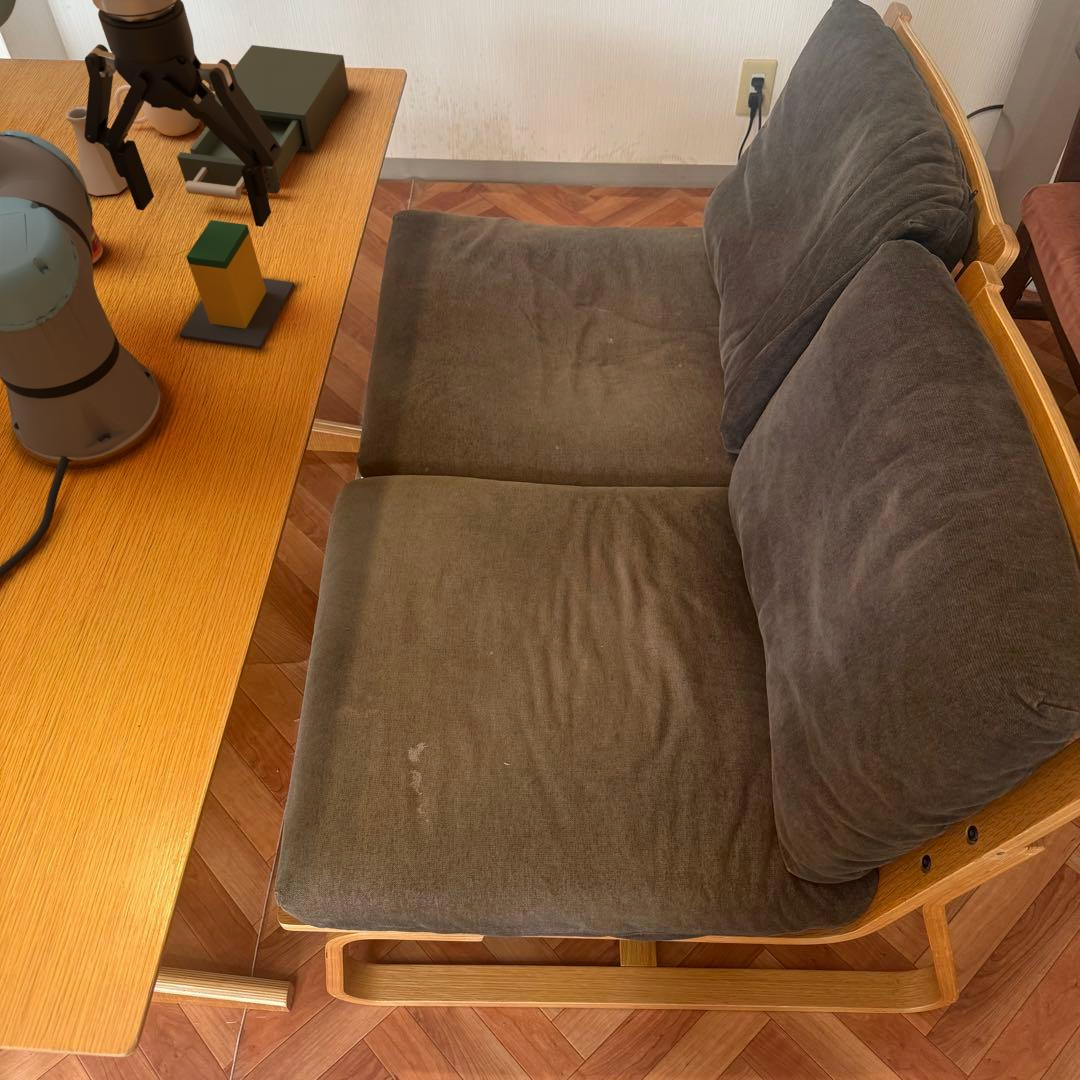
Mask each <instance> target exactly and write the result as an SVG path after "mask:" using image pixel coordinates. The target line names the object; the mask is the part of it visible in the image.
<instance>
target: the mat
mask: <svg viewBox="0 0 1080 1080" xmlns="http://www.w3.org/2000/svg"><path fill="white" fill-rule="evenodd" d="M262 278H263V281H264V285H265V288H266V294H265V295H264V297H263V299H262V301H261V302H260V304H259V306H258V308H257V310H256V311H255V313H254V315H253V317H252V318H251V320H250V322H249V324H248V325H247V327H246V329H244V328H237V327H230V326H223V325H216V324H210V322H209V319H208V316H207V313H206V310H205V308H204V305H203V302H202V299H201V298H200V301H199V303H198V304H197V305H196V307H195V308H194V311H193V312H192V314H191V315H190V317H189V318H188V320H187V322H186V323H185V325H184V326H183V328H182V330H181V331H180V333H179V338H180V339H186V340H193V341H201V342H206V343H214V344H220V345H226V346H228V345H229V346H234V347H241V348H247V349H255V350H261V349H262V347H263V345H264V343H265V341H266V339H268V338H267V337H268V336H269V334H270V332H271V330H272V328H273V327H274V325H275V323H276V321H277V319H278V318H279V315H280V314H281V312H282V310H283V308H284V306H285V304H286V302H287V301H288V299H289V297H290V295H291V293H292V292H293V290H294V288H295V285H296V284H295V282H293V281H286V280H280V279H279V280H278V279H272V278H264V277H262Z"/></svg>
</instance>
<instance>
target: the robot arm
mask: <svg viewBox="0 0 1080 1080" xmlns="http://www.w3.org/2000/svg"><path fill="white" fill-rule="evenodd" d="M16 3H17V0H0V28H1V27H2V26H4V24H5V23H6V22H7V21H8V20H9V18H10V17H11V15H13V14H12V13H13V11H14V9H15V6H16ZM92 3H93V5H94V6H95V7H96V8H97V9H98V13H97V15H98V16H97V17H98V19H99V22H100V25H101V28H102V31H103V33H104V37H105V40H106V42H107V45H108V48H109V49H108V48H107V47H106V46H105V45H104V44H101V43H99V44H97V45H96V46H95V47H94V48H93V49H92V50H91V51H89V53H88V54H87V55H85V57H84V64H85V67H86V71H87V74H88V78H89V80H88V81H89V82H88V93H87V103H86V108H87V112H86V123H85V134H84V136H85V139H86V140H87V141H88V142H89V143H92V144H94V143H96V142H97V143H99V144H102V145H104V147H105V148H106V149H107V150H108V151H109V153H110V155H111V158H112V160H113V163H114V166H115V168H116V171H117V173H118V174H119V176H120V177H124V178H125V179H126V182H127V184H128V186H127V188H128V190H129V192H130V195H131V198H132V199H133V203H134V205H135V208H136V210H137V211H144V210H145V209H146V208H147V206H148V205H149V204H150V203H151V201H152V200H153V199H154V198H155V195H154V193H153V189H152V185H151V184H150V180H149V178H148V176H147V172H146V170H145V166H144V164H143V160H142V159H141V156H140V153H139V150H138V147H137V145H136V142H135V140H130V139H127V140H126V138H127V136H128V135H129V134H128V133H129V131H130V130H131V129H132V126H133V124H134V123H133V122H134V120H135V119H137V117H138V114H139V113H140V111H141V110H142V109H141V107H142V105H143V103H144V102H145V101H146V102H147V103H149V104H151V107H154V108H163V107H167V108H170V109H173V110H177V111H182V110H183V108H184V109H185V110H186V111H187V112H188V113H189V114H190V115H191V116H192V117H193V118H195V119H199V120H200V122H201V123H203V125H204V126H205V127H208V128H209V129H210V130H211V131H212V132H213V133H214V134H215V135H216V136H217V137H218V138H219V139H220V140H221V141H222V142H223V143H224V144H225V145H226V146H227V147H228V148H229V149H230V150H231V151H232V152H233V153H234V154H235V155H236V156H237V157H238V158H239V159H240V160H241V161H242V162H243V163H244V164H245V166H244V167H243V168H242V170H241V172H242V176H243V180H244V183H245V187H246V190H245V191H246V194H247V198H248V203H249V206H250V210H251V213H252V217H253V218H252V219H253V222H254V224H255V226H256V227H261V228H263V226H264V225H265V223H266V222H267V220H268V218H269V216H270V215H271V214H272V210H271V205H270V202H269V198H268V194H270V193H269V191H270V190H271V186H272V184H271V180H270V177H269V172H268V167H272V166H273V165H274V163H275V162H276V160H277V159H278V157H279V155H280V154H281V152H282V149H281V147H280V145H279V144H278V142H277V141H276V139H275V138H274V136H273V135H272V133H271V132H270V130H269V129H268V128H267V126H266V125H265V123H264V122H263V120H262V119H261V117H260V116H259V114H258V113H257V111H256V110H255V108H254V107H253V105H252V104H251V103H250V101H249V100H248V98H247V97H246V95H245V94H244V92H243V91H242V89H241V88H240V86H239V85H238V83H237V81H236V78H235V75H234V72H233V69H234V68H233V66H232V64H231V63H230V61H229V60H227V59H225V58H221V59H220V60H219V61H218V62H217V63H216V64H215V63H214V64H209V63H208V64H202V63H201V61H200V60H199V58H198V57H197V54H196V52H195V45H194V37H193V33H192V30H191V26H190V22H189V19H188V15H187V11H186V9H185V4H184V2H183V0H92ZM109 50H110V51H109ZM116 72H117V74H118V75H119V76H120V77H121V78H122V79H123V80H124V81H125V82H126V83H127V85H130V86H131V87H130V89H129V91H128V90H127V94H126V95H125V97H124V99H123V101H122V102H123V103H122V104H121V109H120V111H118V113H117V115H116V117H115V119H114V120H113V123H112V125H111V126H110V127H108V124H109V115H110V107H111V97H112V91H113V82H114V81H113V80H114V74H115V73H116ZM203 81H204V82H206V83H207V85H208V86H207V85H206V84H205V83H204V82H203ZM214 93H216V95H217V97H218V99H219V101H220V102H221V104H222V105H223V107H224V108H225V109H224V108H223V107H222V106H221V105H220V104H219V103H218V102H217V101H216V99H215V95H214ZM196 94H197V95H198V96H199V97H200V102H199V103H198V104H197V103H196V102H195V101H194V98H195V96H196ZM125 140H126V141H125ZM251 153H252V154H251ZM267 166H268V167H267ZM92 225H93V205H92V201H91V198H90V196H89V193H88V191H87V187H86V184H85V181H84V179H83V177H82V175H81V173H80V172H79V167H78V166H76V164H75V163H74V162H73V160H72V159H71V158H70V157H69V156H68V155H67V154H66V153H65V152H64V151H62V150H61V148H59V147H58V146H56V145H55V144H53V143H52V142H50V141H49V140H47V139H45V138H42V137H40V136H38V135H37V134H33V133H31V132H30V133H29V132H27V131H22V130H16V129H6V130H5V131H0V379H1V381H2V383H3V384H4V385H5V390H6V398H7V402H8V403H7V404H8V408H9V411H10V421H11V426H12V431H13V434H14V436H15V437H16V438H17V440H18V441H19V443H20V445H21V446H22V448H23V449H24V450H25V452H26V453H27V454H28V455H29V456H30V457H32V458H33V459H34V460H36V461H37V462H39V463H42V464H44V465H48V466H51V467H55V468H56V471H55V473H54V476H53V479H52V483H51V486H50V489H49V491H48V495H47V499H46V503H45V507H44V513H43V516H42V519H41V522H40V523H39V525H38V527H37V528H36V530H35V532H34V533H33V535H32V536H31V537H30V538H29V540H28V541H27V542H26V543H25V544H24V545H23V546H22V547H21V548H20V549H19V550H18V551H17V552H15V554H13V555H12V556H11V557H10V558H9V559H7V560H6V561H5V562H3V564H1V565H0V580H1V579H2V578H3V577H4V576H6V574H8V572H10V571H11V570H12V569H13V568H14V567H16V566H17V565H18V564H19V563H20V562H22V561H23V560H24V559H25V558H26V557H27V556H28V555H29V554H30V553H31V552H32V551H33V550H34V549H36V547H37V546H38V545H39V543H40V542H41V541H42V540H43V539H44V536H45V535H46V534H47V532H48V530H49V528H50V526H51V523H52V520H53V519H54V514H55V510H56V505H57V499H58V496H59V492H60V491H61V490H60V489H61V487H62V483H63V480H64V477H65V474H66V471H67V469H85V468H91V467H97V466H100V465H104V464H108V463H111V462H113V461H116V460H117V459H120V458H122V457H124V456H126V455H128V454H129V453H131V452H133V451H134V450H136V449H138V447H140V446H141V445H142V444H143V443H145V442H146V441H147V440H148V439H149V438H150V437H151V436H152V435H153V433H154V432H155V431H156V430H157V428H158V426H159V424H160V423H161V421H162V418H163V415H164V410H165V399H164V394H163V392H162V390H161V388H160V385H159V383H158V381H157V379H156V377H155V376H154V374H153V373H152V372H151V371H150V370H149V369H148V368H147V367H146V366H145V365H144V364H142V363H141V362H140V361H139V360H138V358H136V357H135V356H134V355H133V353H131V352H130V351H129V350H128V349H127V348H126V347H125V346H124V345H123V344H121V342H120V341H119V339H118V337H117V335H116V333H115V331H114V329H113V327H112V324H111V322H110V321H109V318H108V316H107V314H106V312H105V310H104V308H103V306H102V302H101V301H100V299H99V297H98V295H97V291H96V287H95V283H94V263H92V261H93V256H92V231H91V227H92Z"/></svg>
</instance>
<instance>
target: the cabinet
mask: <svg viewBox="0 0 1080 1080" xmlns="http://www.w3.org/2000/svg"><path fill="white" fill-rule="evenodd" d="M232 69H233V72H234V75H235V78H236V81H237V83H238V85H239V86H240V88H241V89H242V91H243V92H244V94H245V95H246V97H247V98H248V100H249V101H250V103H251V104H252V105H253V107H254V108H255V110H256V111H257V113H258V114H259V115H265V116H274V117H282V118H291V119H299V120H301V124H302V129H303V134H304V141H303V143H302V144H301V146H300V147H299V149H298V151H299V152H309V153H313V152H314V150H315V149H316V147H317V145H318V144H319V142H320V140H321V139H322V137H323V135H324V133H325V132H326V130H327V128H328V127H329V125H330V124H331V122H332V120H333V119H334V117H335V116H336V115H337V112H338V111H339V109H340V107H341V106H342V104H343V102H344V100H345V99H346V97H347V95H349V92H350V90H349V82H348V76H347V70H346V64H345V57H344V55H343V54H337V53H328V52H327V53H326V52H318V51H309V50H300V49H292V48H291V49H290V48H283V47H274V46H273V47H272V46H266V45H265V46H264V45H255V44H251V45H250V47H249V48H248V49H247V50H246V52H245V53H244V55H243V56H242V57H241V58H240V59H239V61H238V62H237V64H236V65H235V66H234V67H233V68H232ZM213 94H214V95H215V99H216V101H217V102H218V103H219V104H220V105H221V106H222V107H223V105H222V104H221V102H220V101H219V99H218V97H217V95H216V93H215V92H213ZM223 108H224V107H223ZM224 109H225V108H224Z"/></svg>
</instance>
